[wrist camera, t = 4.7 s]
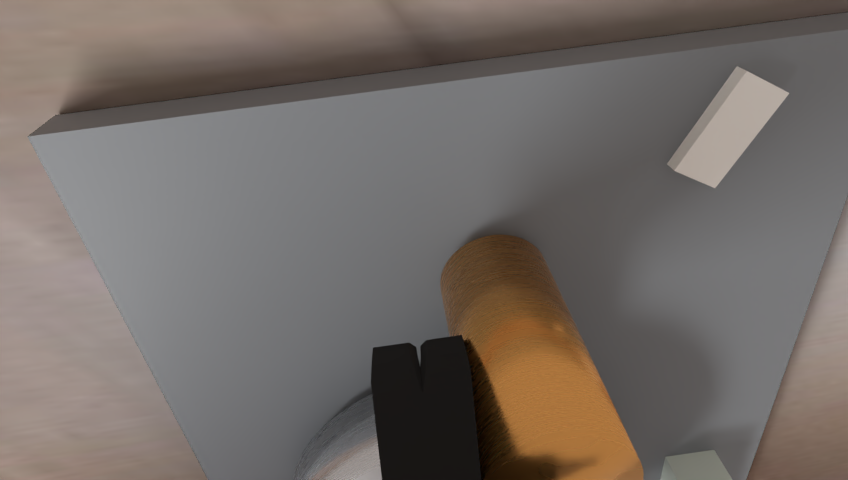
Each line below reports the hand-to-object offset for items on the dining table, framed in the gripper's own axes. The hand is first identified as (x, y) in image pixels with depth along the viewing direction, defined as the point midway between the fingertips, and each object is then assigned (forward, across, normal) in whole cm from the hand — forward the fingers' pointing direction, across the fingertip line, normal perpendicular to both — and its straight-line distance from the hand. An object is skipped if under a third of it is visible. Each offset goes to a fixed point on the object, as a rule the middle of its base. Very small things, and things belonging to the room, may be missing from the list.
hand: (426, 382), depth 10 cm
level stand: (+3, -2, +4) cm, 5 cm away
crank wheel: (+2, -1, +5) cm, 5 cm away
